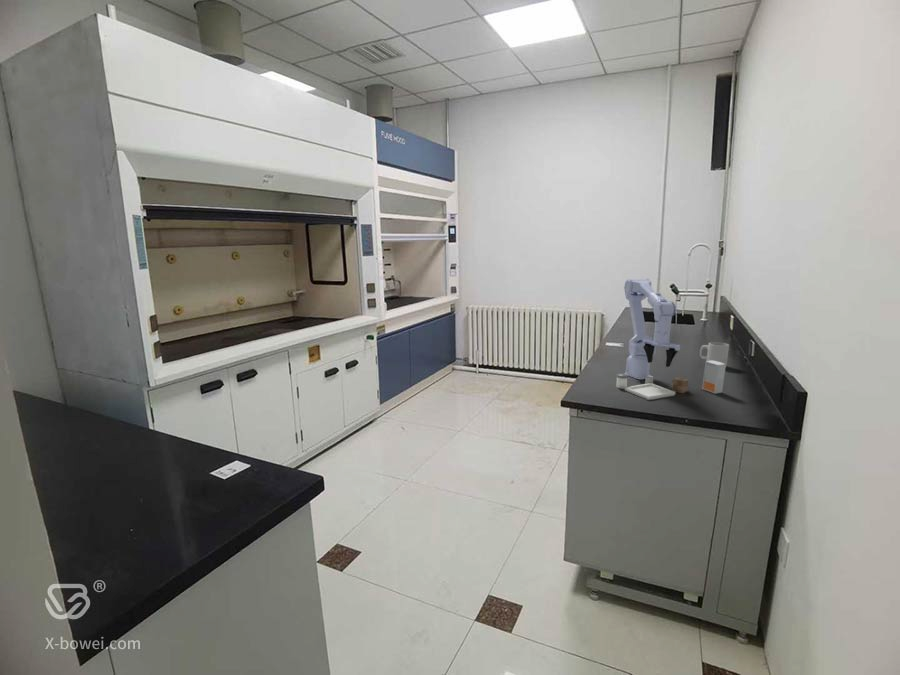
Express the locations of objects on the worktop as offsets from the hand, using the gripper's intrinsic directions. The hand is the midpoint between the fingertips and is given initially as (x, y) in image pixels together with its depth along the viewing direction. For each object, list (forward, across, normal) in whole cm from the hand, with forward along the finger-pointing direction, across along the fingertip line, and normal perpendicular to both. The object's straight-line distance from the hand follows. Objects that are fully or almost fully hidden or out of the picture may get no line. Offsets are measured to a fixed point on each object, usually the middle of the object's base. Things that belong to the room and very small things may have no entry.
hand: (658, 364), depth 181 cm
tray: (+10, +2, -9) cm, 13 cm away
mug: (+10, 0, +53) cm, 54 cm away
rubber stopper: (+10, -4, +1) cm, 11 cm away
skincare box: (+10, +16, +13) cm, 23 cm away
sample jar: (+10, -9, -11) cm, 17 cm away
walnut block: (+10, +8, +3) cm, 13 cm away
